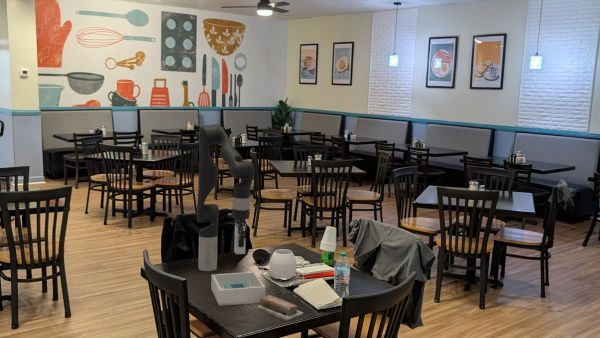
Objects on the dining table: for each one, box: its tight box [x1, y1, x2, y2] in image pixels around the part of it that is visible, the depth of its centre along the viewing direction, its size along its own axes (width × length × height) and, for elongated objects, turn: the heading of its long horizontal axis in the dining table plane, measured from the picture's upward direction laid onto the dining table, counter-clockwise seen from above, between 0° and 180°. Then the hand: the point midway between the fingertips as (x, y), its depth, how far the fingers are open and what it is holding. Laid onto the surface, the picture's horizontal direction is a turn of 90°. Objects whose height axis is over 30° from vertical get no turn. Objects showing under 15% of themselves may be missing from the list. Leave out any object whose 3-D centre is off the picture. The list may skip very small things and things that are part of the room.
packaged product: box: [256, 294, 304, 321], centre depth 230 cm, size 18×5×10 cm
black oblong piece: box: [251, 248, 272, 266], centre depth 294 cm, size 9×11×18 cm
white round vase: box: [268, 248, 297, 280], centre depth 269 cm, size 13×13×14 cm
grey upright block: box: [233, 224, 247, 255], centre depth 241 cm, size 4×4×12 cm
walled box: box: [210, 271, 267, 307], centre depth 244 cm, size 20×20×7 cm
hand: (239, 245), depth 241 cm, fingers closed on grey upright block, 4 cm apart
